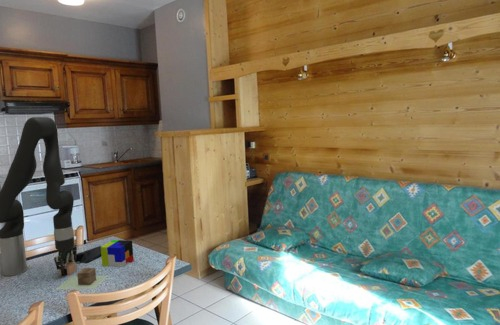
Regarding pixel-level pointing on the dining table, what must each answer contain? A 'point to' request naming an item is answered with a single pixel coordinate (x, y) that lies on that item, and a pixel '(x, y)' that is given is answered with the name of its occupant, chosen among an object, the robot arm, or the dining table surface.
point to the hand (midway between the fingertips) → (68, 273)
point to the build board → (73, 284)
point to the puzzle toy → (117, 253)
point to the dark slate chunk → (88, 255)
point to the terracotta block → (69, 268)
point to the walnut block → (86, 276)
